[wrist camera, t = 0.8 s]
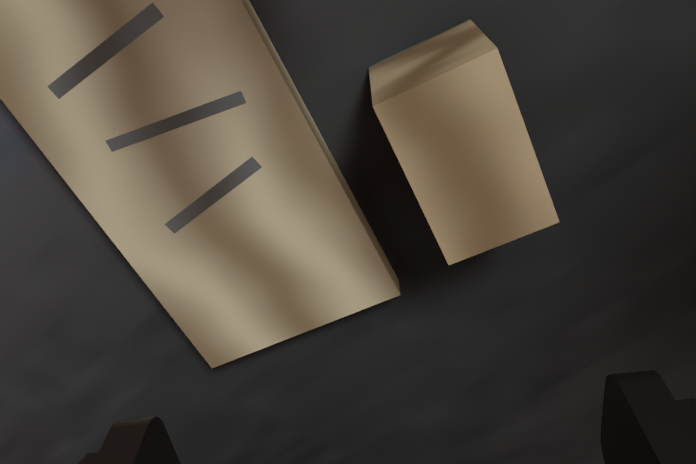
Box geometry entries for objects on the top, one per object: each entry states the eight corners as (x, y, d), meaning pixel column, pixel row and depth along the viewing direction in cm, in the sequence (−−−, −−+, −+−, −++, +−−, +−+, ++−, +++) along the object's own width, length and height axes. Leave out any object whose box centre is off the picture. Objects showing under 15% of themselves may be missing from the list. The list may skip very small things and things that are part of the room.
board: (135, -214, 23) (122, -220, 22) (398, 279, 34) (400, 295, 33) (-98, -60, 26) (-123, -58, 24) (216, 351, 37) (211, 368, 35)
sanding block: (469, 17, 27) (497, 48, 22) (523, 165, 31) (559, 222, 25) (368, 66, 28) (372, 106, 23) (432, 203, 32) (448, 265, 27)
